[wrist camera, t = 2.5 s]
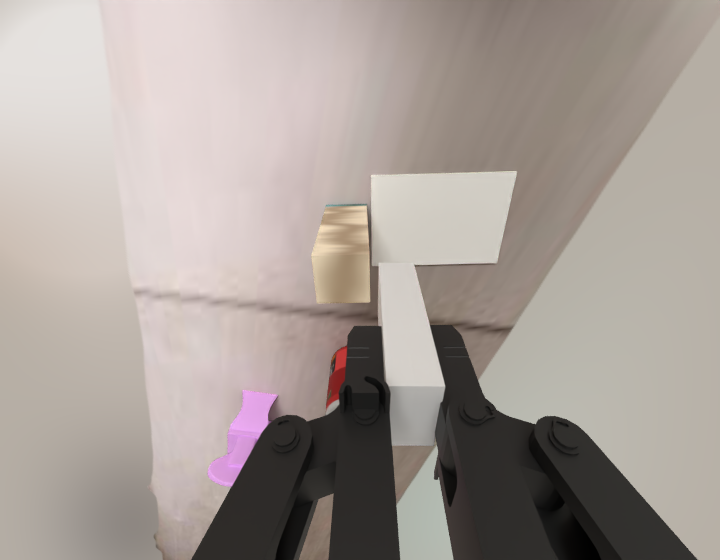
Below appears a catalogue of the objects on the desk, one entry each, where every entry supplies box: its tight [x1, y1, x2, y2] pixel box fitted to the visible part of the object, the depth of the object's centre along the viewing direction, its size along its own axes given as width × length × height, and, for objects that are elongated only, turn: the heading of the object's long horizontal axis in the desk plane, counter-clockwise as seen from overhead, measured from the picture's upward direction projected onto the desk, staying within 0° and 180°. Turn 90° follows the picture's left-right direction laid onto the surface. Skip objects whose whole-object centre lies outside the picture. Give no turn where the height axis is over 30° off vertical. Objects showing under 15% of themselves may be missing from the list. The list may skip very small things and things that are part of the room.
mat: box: [371, 171, 517, 266], centre depth 40 cm, size 17×12×1 cm
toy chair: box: [208, 390, 278, 487], centre depth 53 cm, size 8×9×15 cm
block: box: [311, 204, 370, 303], centre depth 34 cm, size 5×5×14 cm
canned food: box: [326, 346, 347, 415], centre depth 48 cm, size 8×8×11 cm
